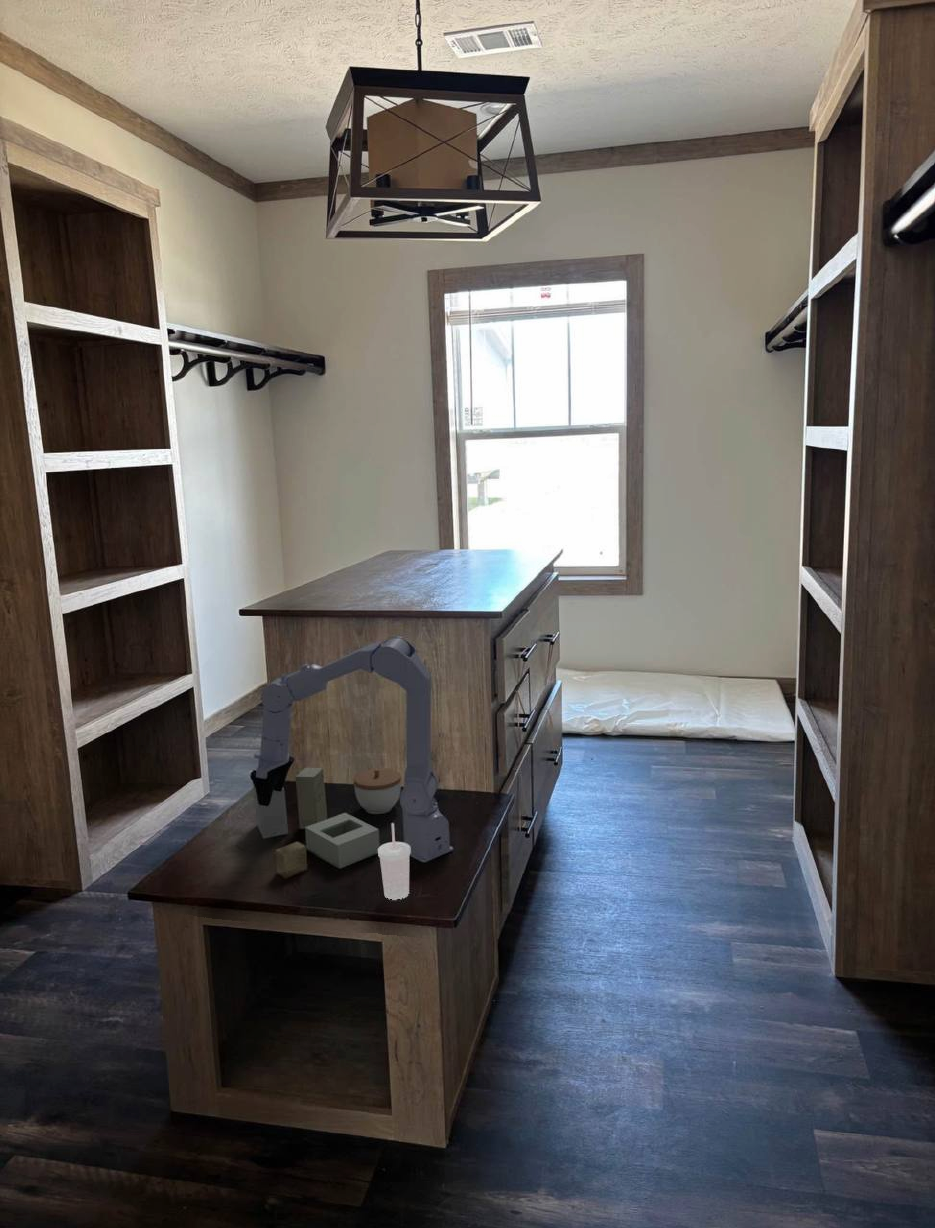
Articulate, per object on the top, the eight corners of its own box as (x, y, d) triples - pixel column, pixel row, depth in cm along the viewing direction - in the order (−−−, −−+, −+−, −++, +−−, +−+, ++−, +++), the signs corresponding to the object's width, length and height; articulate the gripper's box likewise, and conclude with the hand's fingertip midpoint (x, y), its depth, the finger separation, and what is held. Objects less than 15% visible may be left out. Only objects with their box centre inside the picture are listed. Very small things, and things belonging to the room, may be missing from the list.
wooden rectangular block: (307, 869, 178) (305, 846, 177) (285, 878, 174) (283, 854, 173) (299, 864, 180) (297, 841, 179) (277, 873, 177) (275, 849, 176)
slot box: (380, 852, 184) (378, 829, 183) (339, 869, 177) (337, 845, 176) (346, 834, 193) (345, 812, 192) (306, 849, 186) (304, 827, 185)
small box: (288, 834, 194) (284, 788, 192) (262, 839, 192) (258, 793, 190) (281, 820, 201) (278, 776, 199) (256, 825, 199) (252, 780, 197)
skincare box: (317, 830, 195) (314, 777, 193) (298, 829, 196) (294, 776, 194) (328, 818, 201) (324, 767, 199) (309, 817, 202) (305, 766, 200)
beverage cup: (400, 882, 171) (396, 813, 168) (419, 894, 166) (416, 823, 164) (373, 893, 167) (369, 823, 164) (393, 905, 163) (388, 834, 160)
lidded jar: (356, 800, 210) (354, 762, 209) (402, 798, 211) (400, 760, 209) (353, 819, 200) (351, 780, 198) (402, 817, 200) (399, 777, 199)
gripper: (269, 721, 192) (264, 780, 195) (243, 745, 177) (238, 808, 180) (301, 727, 191) (295, 786, 194) (277, 751, 177) (272, 814, 180)
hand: (270, 797), depth 187 cm, fingers open, 7 cm apart
